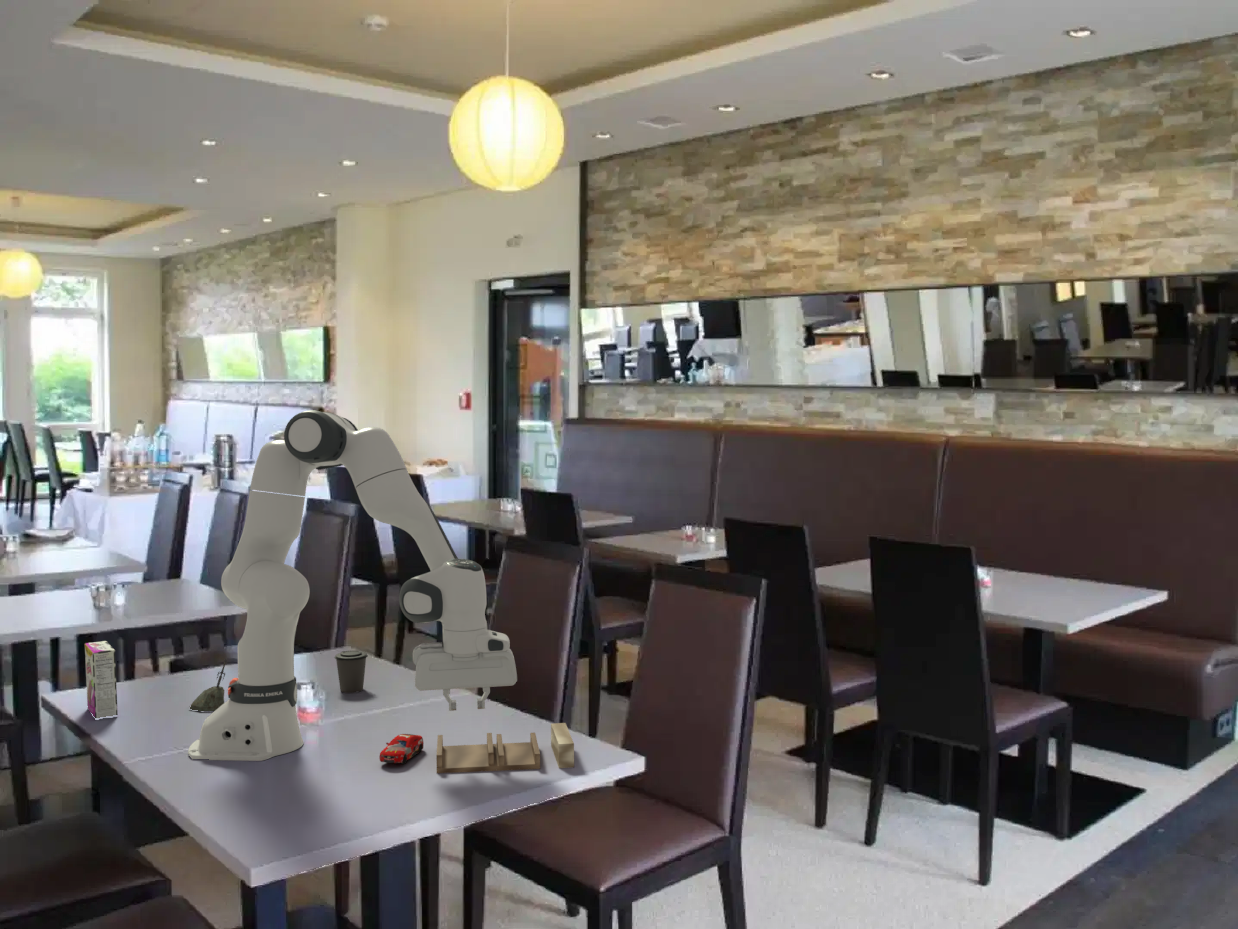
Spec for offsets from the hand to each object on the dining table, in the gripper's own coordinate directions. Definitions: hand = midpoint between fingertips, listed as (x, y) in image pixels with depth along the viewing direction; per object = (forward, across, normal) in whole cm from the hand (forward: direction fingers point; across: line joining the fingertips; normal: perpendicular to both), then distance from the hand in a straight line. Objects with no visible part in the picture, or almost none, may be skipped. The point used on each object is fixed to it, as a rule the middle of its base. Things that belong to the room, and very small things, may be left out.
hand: (466, 709), depth 223 cm
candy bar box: (+10, -82, +44) cm, 93 cm away
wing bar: (+11, +19, -1) cm, 22 cm away
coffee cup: (+11, -27, +57) cm, 64 cm away
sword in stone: (+10, -58, +45) cm, 75 cm away
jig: (+10, +4, -1) cm, 11 cm away
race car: (+12, -13, -1) cm, 18 cm away
